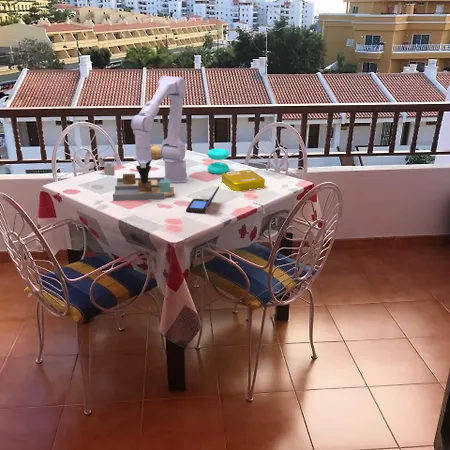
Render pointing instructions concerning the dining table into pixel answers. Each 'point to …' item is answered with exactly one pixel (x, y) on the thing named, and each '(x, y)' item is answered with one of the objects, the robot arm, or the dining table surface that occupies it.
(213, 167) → the donuts
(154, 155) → the onion
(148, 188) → the oak strip
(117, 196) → the slate board
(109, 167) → the lighter
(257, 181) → the element tile
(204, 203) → the handheld game console
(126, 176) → the broken strip front
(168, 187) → the teal cube
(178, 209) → the dining table surface
